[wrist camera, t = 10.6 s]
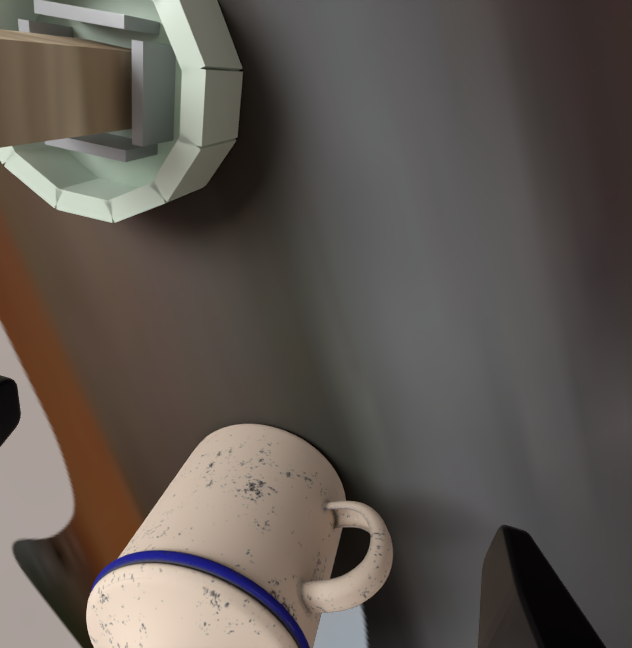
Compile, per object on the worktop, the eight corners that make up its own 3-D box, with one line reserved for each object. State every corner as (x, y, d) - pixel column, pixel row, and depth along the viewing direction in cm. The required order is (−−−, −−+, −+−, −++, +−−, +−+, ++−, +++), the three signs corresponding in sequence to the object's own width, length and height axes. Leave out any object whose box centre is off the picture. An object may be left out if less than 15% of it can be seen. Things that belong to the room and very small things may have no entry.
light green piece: (252, -39, 17) (213, -63, 14) (230, 221, 21) (196, 243, 18) (16, -76, 18) (-63, -104, 16) (38, 177, 23) (-21, 190, 20)
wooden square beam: (151, 53, 18) (-36, 35, 11) (148, 126, 20) (-22, 151, 13) (88, 39, 19) (-131, 13, 12) (89, 112, 20) (-110, 128, 13)
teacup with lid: (233, 559, 30) (120, 805, 20) (158, 435, 27) (-18, 646, 17) (432, 535, 26) (418, 834, 16) (368, 384, 23) (299, 626, 13)
